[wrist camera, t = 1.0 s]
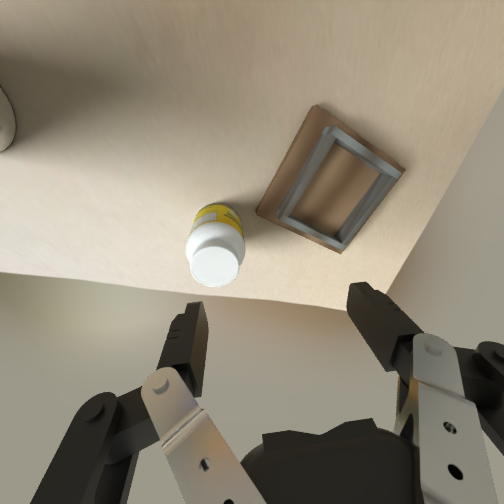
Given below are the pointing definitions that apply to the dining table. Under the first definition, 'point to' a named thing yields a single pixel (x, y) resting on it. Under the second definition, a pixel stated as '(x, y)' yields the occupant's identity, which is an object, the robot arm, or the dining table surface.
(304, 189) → the collar board
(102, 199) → the dining table surface
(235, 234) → the pill bottle
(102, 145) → the dining table surface
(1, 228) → the dining table surface
